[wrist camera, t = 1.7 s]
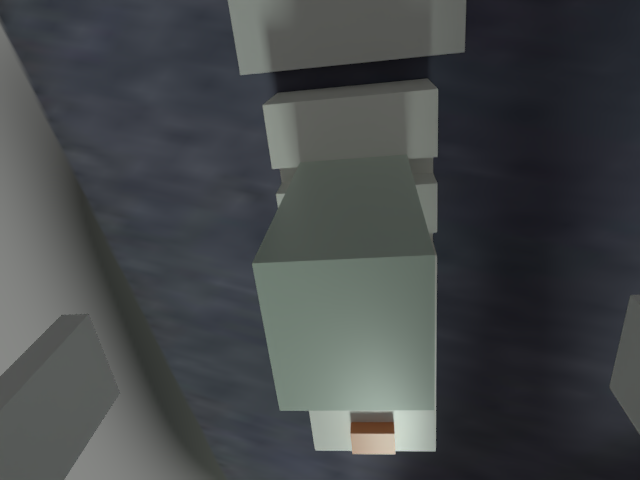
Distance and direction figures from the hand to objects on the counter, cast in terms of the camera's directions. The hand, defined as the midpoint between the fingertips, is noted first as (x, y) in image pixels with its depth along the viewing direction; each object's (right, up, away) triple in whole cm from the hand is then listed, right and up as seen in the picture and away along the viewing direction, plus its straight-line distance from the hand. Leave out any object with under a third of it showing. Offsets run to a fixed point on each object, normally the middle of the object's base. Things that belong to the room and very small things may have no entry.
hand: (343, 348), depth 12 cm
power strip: (+2, +1, +14) cm, 14 cm away
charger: (+1, +5, +10) cm, 11 cm away
